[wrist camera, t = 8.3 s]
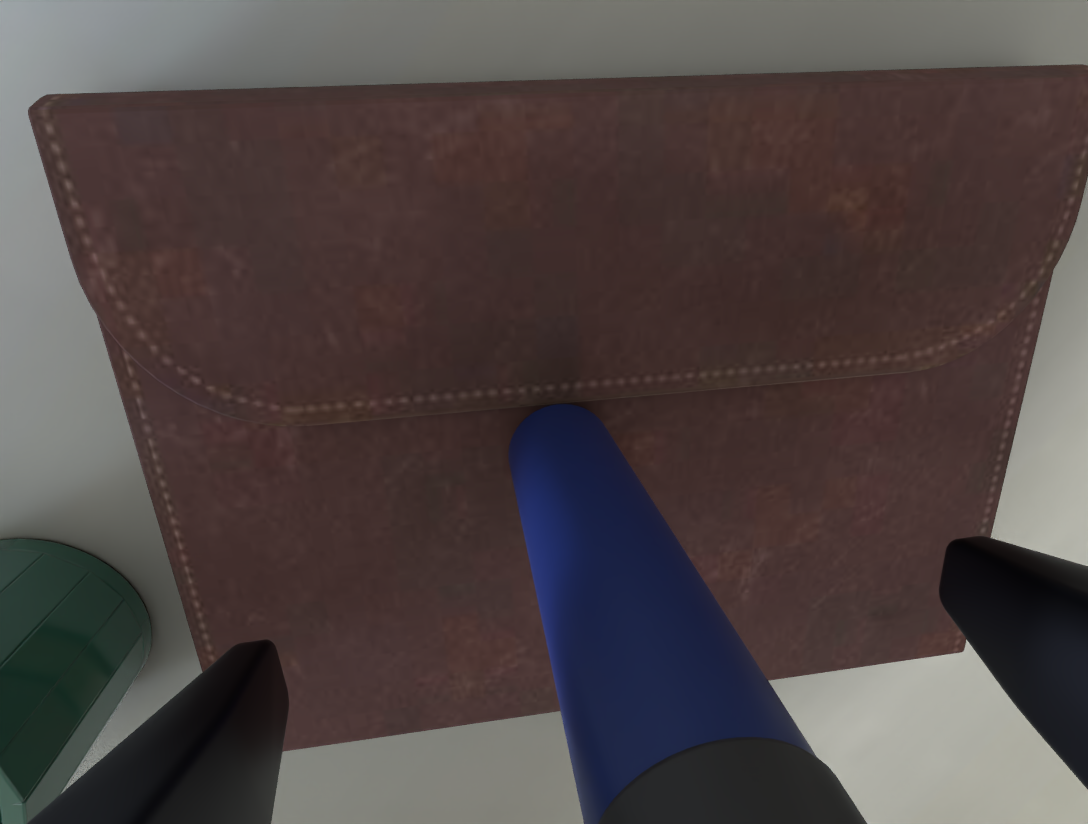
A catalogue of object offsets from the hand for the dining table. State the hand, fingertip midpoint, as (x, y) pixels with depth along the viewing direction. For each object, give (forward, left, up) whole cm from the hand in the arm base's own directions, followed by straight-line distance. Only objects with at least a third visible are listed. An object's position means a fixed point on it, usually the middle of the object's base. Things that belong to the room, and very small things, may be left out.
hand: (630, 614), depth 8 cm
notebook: (-1, -1, -8) cm, 8 cm away
